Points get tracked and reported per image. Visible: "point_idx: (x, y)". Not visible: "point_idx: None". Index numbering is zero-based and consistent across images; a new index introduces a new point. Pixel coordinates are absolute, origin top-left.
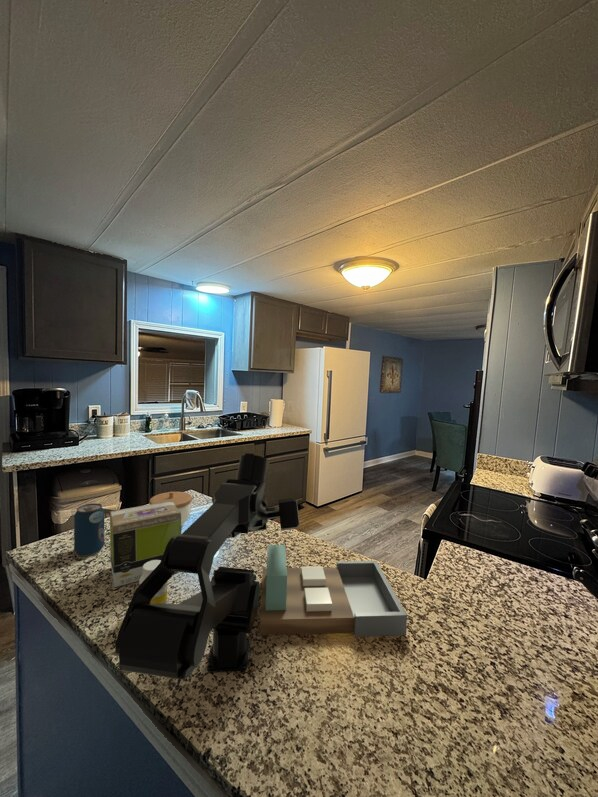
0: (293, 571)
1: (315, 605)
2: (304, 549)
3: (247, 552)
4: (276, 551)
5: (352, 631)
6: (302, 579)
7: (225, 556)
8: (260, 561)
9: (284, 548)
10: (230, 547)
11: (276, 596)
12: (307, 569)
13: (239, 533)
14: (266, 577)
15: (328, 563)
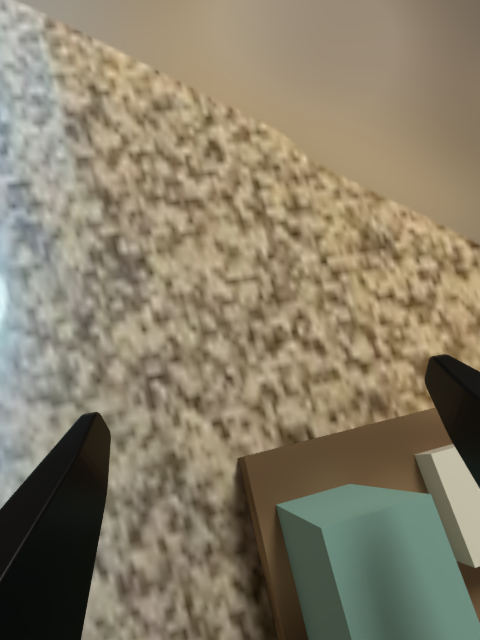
0: (381, 452)
1: None
2: (338, 229)
3: (130, 277)
4: (412, 616)
5: None
6: (449, 529)
7: (42, 318)
8: (197, 329)
9: (447, 551)
10: (50, 252)
11: None
12: (463, 472)
13: (80, 631)
14: (281, 531)
15: (439, 301)
